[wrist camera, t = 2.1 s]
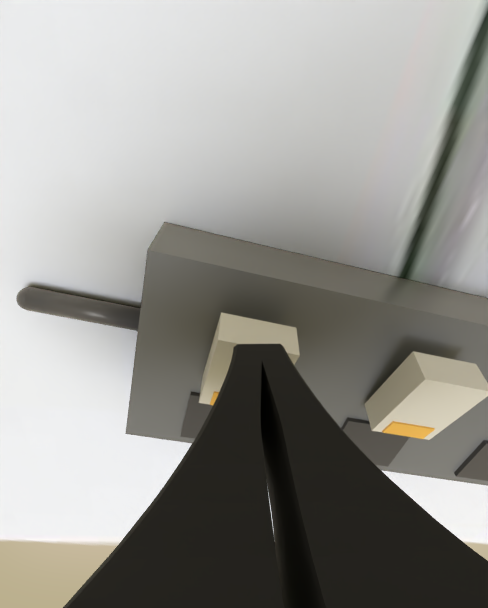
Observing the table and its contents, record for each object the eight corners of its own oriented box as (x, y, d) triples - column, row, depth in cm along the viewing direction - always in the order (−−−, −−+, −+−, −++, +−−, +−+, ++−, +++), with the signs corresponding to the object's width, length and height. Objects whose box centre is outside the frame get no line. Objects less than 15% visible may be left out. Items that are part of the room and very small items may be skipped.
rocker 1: (296, 327, 11) (299, 357, 11) (265, 386, 14) (266, 415, 13) (221, 312, 11) (217, 341, 10) (202, 376, 13) (198, 404, 12)
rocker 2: (476, 364, 12) (493, 393, 12) (419, 413, 15) (430, 441, 14) (412, 351, 12) (426, 381, 11) (364, 404, 14) (372, 432, 13)
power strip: (613, 328, 17) (688, 372, 14) (500, 444, 21) (541, 496, 18) (16, 187, 13) (-45, 209, 10) (30, 367, 17) (-10, 418, 14)
